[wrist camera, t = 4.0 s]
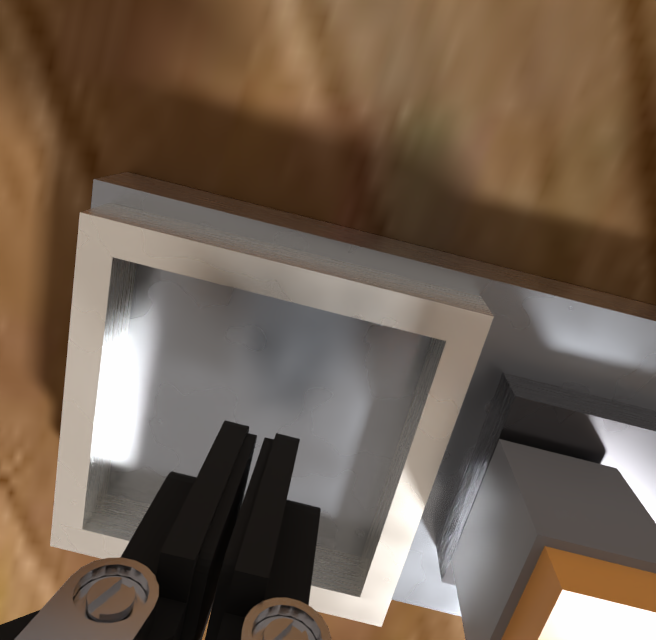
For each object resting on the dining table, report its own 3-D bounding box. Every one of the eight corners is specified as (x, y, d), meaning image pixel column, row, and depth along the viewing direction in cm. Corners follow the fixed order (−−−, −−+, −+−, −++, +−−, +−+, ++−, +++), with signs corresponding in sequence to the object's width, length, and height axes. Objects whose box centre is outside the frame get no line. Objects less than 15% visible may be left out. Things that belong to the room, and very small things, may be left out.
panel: (809, 344, 15) (928, 405, 12) (652, 616, 19) (712, 720, 16) (128, 171, 15) (60, 185, 12) (92, 478, 19) (32, 555, 15)
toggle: (617, 468, 13) (724, 618, 9) (559, 586, 14) (630, 764, 10) (499, 439, 13) (554, 577, 9) (451, 560, 14) (482, 728, 10)
